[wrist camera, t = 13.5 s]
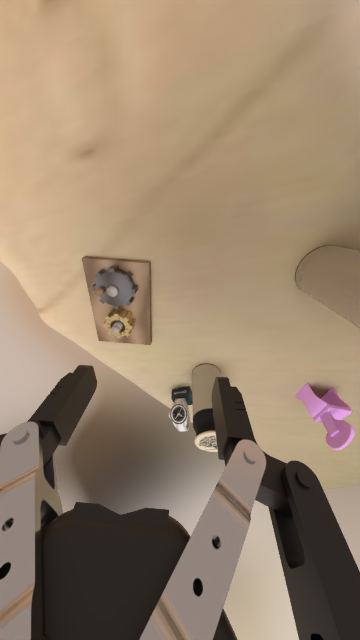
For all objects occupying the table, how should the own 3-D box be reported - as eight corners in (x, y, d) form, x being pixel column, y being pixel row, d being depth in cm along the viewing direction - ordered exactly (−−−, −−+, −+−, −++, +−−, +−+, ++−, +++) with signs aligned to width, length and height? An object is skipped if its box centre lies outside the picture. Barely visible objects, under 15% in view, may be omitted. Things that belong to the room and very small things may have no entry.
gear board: (150, 261, 35) (143, 270, 30) (151, 341, 46) (146, 358, 40) (85, 256, 35) (66, 264, 30) (101, 337, 46) (89, 353, 40)
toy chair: (319, 402, 55) (359, 460, 42) (293, 397, 54) (325, 454, 42) (337, 385, 51) (387, 443, 38) (308, 380, 50) (350, 436, 37)
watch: (187, 382, 53) (187, 418, 43) (194, 398, 57) (195, 435, 47) (169, 385, 54) (165, 421, 44) (178, 401, 58) (176, 437, 48)
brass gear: (135, 308, 39) (131, 315, 37) (136, 332, 42) (133, 339, 40) (106, 306, 39) (100, 312, 37) (110, 329, 42) (105, 337, 40)
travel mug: (190, 364, 49) (191, 433, 34) (219, 362, 48) (233, 431, 33) (193, 383, 53) (195, 453, 38) (220, 381, 52) (234, 452, 37)
